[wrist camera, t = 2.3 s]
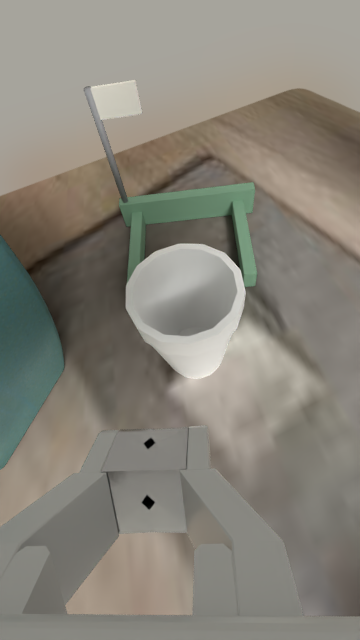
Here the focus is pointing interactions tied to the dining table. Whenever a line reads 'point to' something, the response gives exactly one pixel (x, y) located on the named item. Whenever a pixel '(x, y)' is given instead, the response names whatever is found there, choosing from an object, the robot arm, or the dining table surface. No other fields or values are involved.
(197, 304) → the foam cup
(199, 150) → the dining table surface
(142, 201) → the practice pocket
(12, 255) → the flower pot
